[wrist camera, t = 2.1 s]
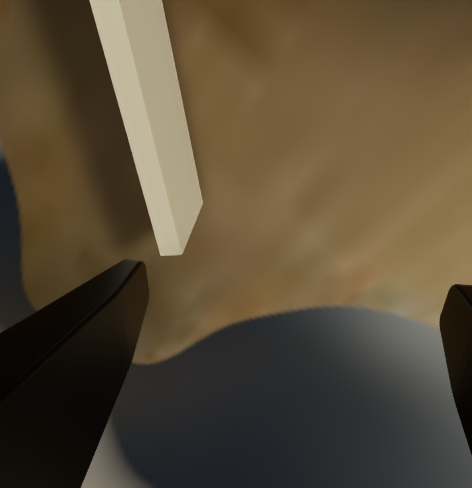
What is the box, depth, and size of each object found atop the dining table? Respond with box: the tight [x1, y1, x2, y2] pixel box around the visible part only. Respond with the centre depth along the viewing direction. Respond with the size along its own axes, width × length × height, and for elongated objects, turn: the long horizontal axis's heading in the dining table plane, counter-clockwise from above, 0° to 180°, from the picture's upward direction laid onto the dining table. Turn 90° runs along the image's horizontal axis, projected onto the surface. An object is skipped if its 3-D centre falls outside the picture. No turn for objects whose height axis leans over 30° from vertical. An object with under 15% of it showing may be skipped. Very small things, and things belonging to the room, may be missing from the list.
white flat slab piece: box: [90, 0, 203, 256], centre depth 15 cm, size 18×1×5 cm, turn 8°
